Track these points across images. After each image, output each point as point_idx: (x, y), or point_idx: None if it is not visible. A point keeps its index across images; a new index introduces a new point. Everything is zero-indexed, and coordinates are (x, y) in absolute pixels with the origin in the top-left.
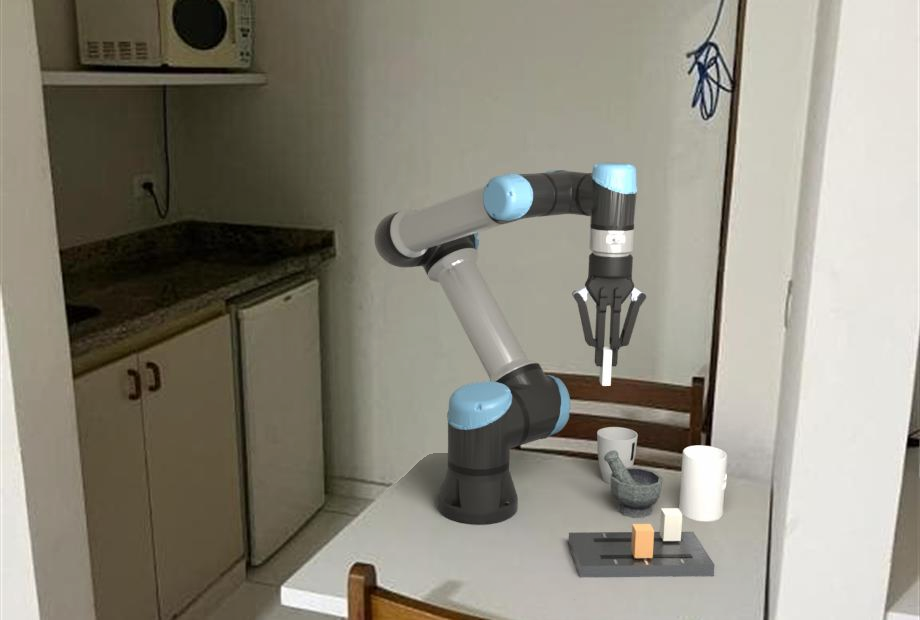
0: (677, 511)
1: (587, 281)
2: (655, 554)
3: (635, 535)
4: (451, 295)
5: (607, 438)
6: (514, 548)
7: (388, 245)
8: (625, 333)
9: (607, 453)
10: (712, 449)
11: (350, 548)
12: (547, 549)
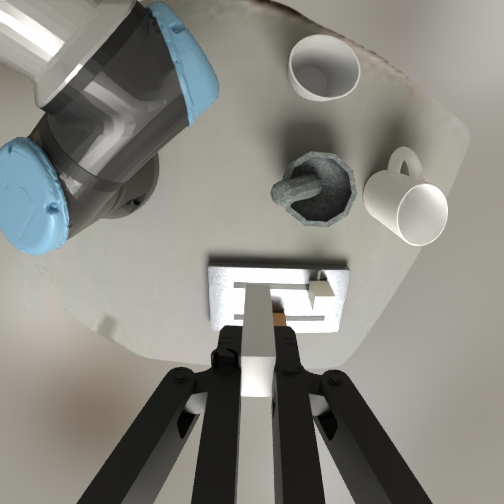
0: (330, 304)
1: None
2: (290, 315)
3: None
4: None
5: (311, 43)
6: (153, 268)
7: None
8: (327, 443)
9: (277, 188)
10: (440, 193)
11: (32, 258)
12: (186, 272)
